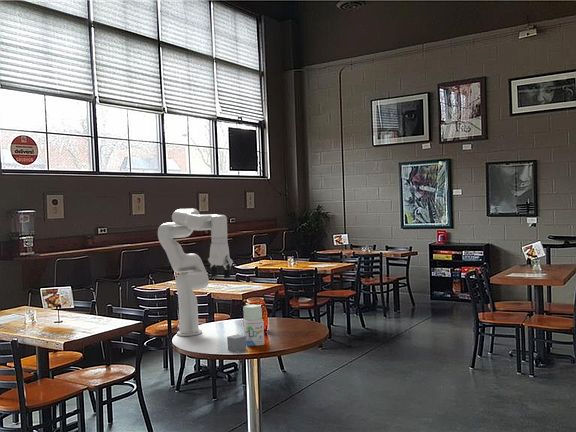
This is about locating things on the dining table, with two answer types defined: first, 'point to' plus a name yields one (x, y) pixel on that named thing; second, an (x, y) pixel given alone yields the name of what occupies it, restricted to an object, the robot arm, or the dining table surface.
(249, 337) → the ink box
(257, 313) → the sage block
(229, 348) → the slate block
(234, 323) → the dining table surface
